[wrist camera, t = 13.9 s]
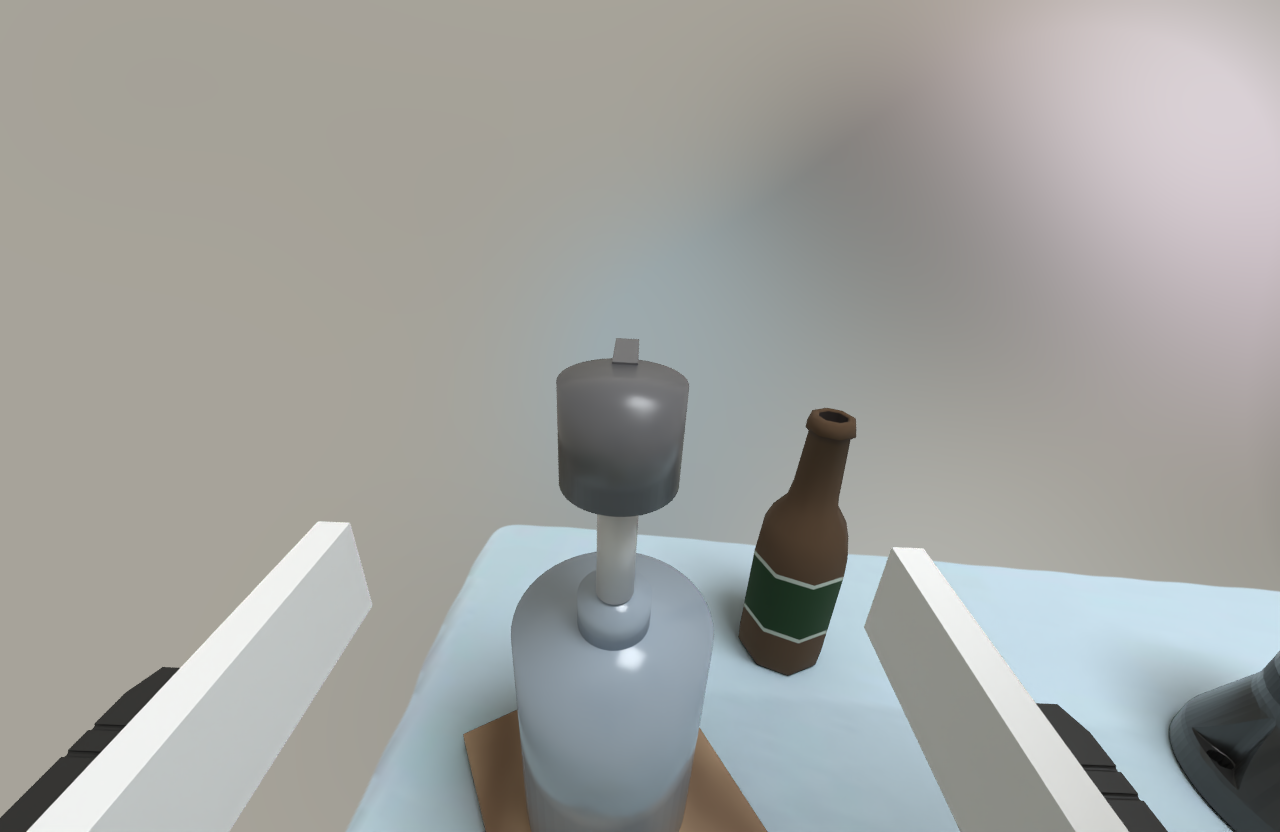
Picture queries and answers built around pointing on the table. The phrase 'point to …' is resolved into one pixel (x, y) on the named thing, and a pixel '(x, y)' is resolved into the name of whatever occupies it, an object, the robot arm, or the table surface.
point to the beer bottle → (800, 554)
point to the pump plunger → (620, 452)
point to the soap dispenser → (609, 697)
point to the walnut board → (711, 827)
